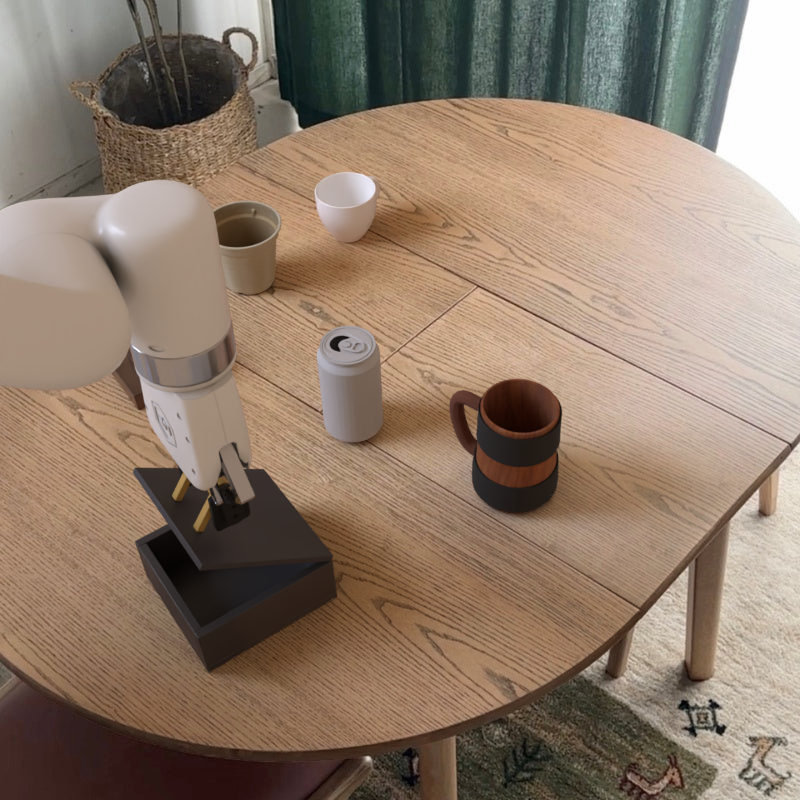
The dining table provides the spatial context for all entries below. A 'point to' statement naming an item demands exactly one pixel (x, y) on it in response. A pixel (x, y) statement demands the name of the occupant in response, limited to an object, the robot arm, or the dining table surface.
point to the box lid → (243, 542)
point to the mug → (511, 443)
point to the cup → (347, 204)
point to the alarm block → (130, 380)
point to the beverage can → (350, 383)
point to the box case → (231, 597)
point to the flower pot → (248, 244)
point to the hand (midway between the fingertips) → (215, 498)
